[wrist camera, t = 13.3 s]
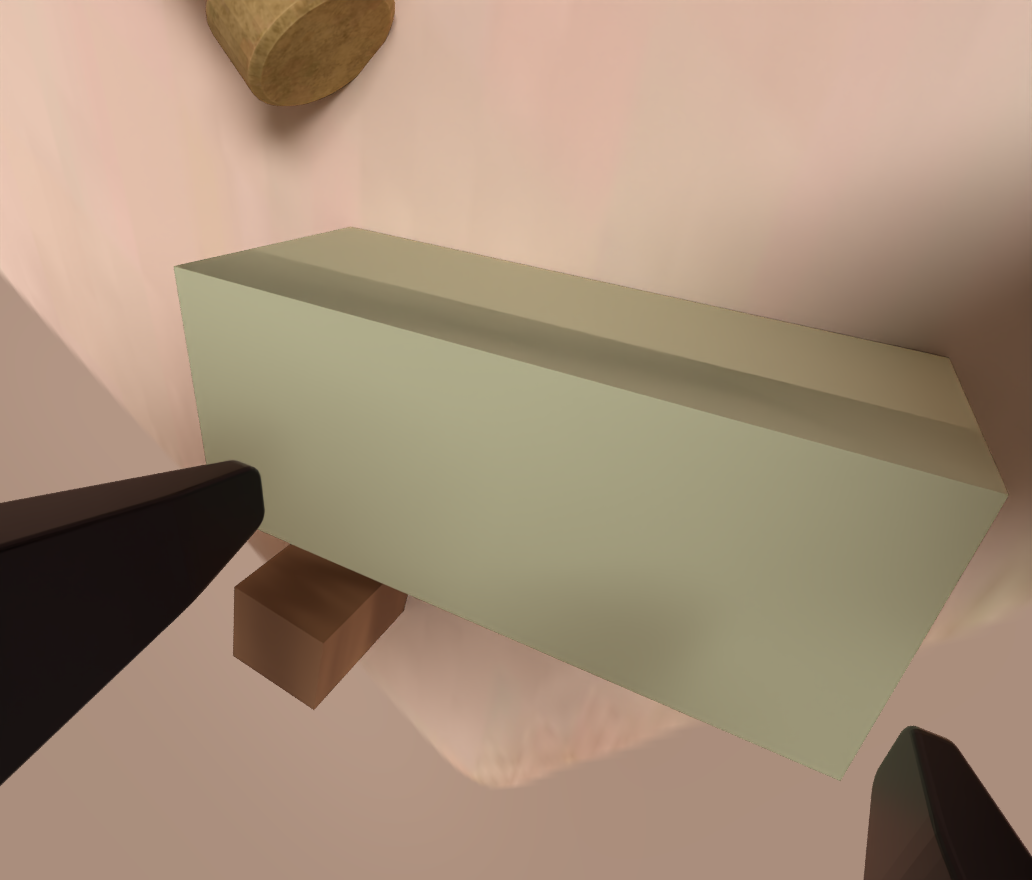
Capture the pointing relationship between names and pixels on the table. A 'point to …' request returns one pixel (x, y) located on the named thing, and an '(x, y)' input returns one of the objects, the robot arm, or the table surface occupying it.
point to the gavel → (299, 43)
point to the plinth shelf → (603, 471)
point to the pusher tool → (309, 621)
